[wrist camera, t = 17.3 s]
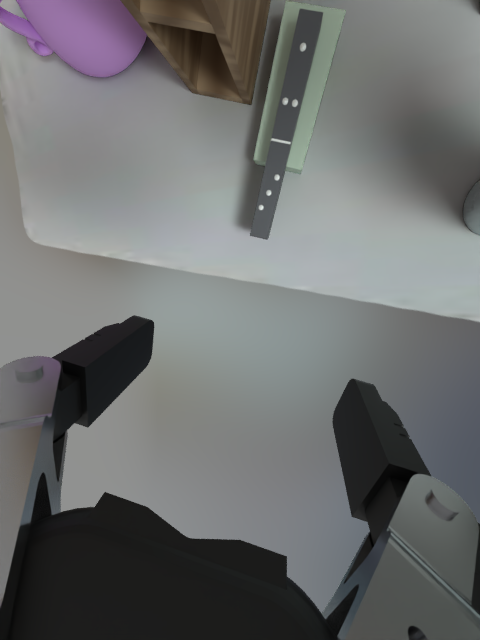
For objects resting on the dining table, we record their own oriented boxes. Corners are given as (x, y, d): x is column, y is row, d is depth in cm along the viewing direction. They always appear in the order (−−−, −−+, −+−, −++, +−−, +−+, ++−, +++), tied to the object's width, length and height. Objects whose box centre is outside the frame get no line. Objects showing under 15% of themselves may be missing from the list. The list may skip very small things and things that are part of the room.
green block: (340, 31, 31) (345, 10, 28) (300, 174, 38) (301, 170, 35) (286, 21, 32) (285, 0, 29) (256, 164, 38) (253, 159, 35)
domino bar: (320, 29, 29) (323, 11, 27) (268, 238, 39) (266, 239, 36) (299, 25, 29) (299, 7, 27) (252, 234, 39) (249, 235, 37)
